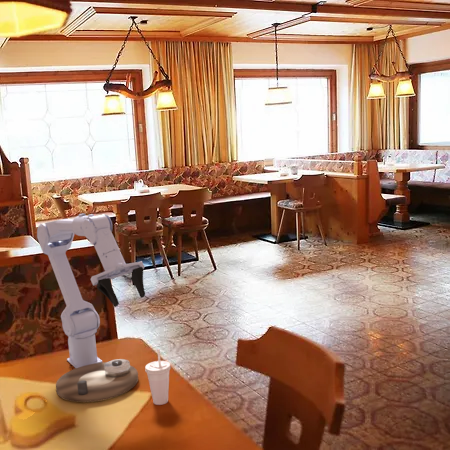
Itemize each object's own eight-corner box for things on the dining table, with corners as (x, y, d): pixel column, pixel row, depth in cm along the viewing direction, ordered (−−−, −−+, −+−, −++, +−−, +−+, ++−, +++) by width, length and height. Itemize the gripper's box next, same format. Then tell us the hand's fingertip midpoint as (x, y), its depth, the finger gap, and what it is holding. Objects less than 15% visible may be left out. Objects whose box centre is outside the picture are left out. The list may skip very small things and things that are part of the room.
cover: (101, 371, 166) (100, 361, 165) (124, 365, 169) (123, 355, 169) (110, 379, 160) (109, 369, 159) (134, 372, 164) (133, 362, 163)
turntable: (46, 381, 165) (44, 366, 164) (119, 360, 177) (117, 346, 176) (72, 410, 147) (70, 393, 146) (151, 385, 158) (150, 369, 158)
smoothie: (169, 407, 146) (164, 354, 144) (144, 406, 148) (139, 353, 145) (176, 396, 152) (172, 344, 150) (152, 395, 154) (148, 344, 151)
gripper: (87, 256, 150) (108, 304, 147) (138, 241, 158) (159, 286, 154) (82, 267, 156) (102, 313, 152) (131, 253, 164) (151, 296, 160)
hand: (130, 300), depth 154 cm, fingers open, 7 cm apart
